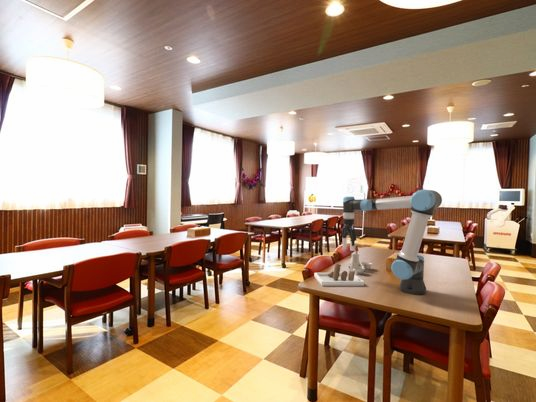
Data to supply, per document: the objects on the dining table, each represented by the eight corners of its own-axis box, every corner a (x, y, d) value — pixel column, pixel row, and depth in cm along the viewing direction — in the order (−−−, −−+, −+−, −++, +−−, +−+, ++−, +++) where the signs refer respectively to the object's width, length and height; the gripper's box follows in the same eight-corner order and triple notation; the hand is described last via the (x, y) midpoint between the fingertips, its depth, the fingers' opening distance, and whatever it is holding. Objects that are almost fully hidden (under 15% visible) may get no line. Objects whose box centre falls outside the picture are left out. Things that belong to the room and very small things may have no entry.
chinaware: (364, 279, 200) (367, 257, 199) (342, 272, 209) (344, 251, 208) (372, 270, 224) (375, 251, 222) (352, 265, 233) (355, 246, 232)
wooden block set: (353, 284, 186) (356, 269, 190) (350, 282, 180) (353, 266, 183) (328, 278, 196) (331, 264, 199) (324, 276, 189) (327, 261, 192)
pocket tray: (364, 286, 179) (364, 281, 179) (321, 286, 177) (321, 281, 177) (352, 276, 200) (352, 272, 199) (314, 276, 198) (314, 272, 198)
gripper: (337, 217, 203) (337, 245, 203) (350, 219, 178) (350, 252, 178) (346, 217, 204) (346, 245, 204) (361, 219, 179) (361, 252, 179)
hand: (348, 248), depth 191 cm, fingers open, 13 cm apart
